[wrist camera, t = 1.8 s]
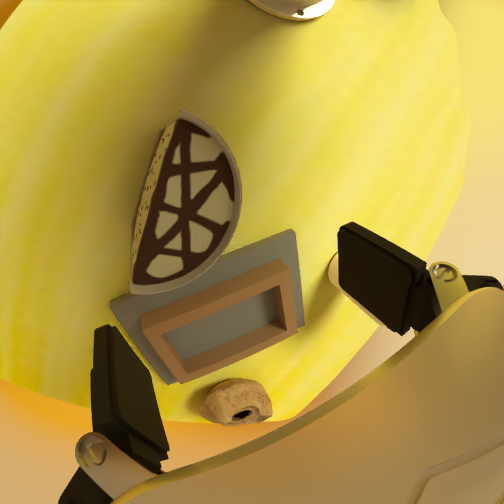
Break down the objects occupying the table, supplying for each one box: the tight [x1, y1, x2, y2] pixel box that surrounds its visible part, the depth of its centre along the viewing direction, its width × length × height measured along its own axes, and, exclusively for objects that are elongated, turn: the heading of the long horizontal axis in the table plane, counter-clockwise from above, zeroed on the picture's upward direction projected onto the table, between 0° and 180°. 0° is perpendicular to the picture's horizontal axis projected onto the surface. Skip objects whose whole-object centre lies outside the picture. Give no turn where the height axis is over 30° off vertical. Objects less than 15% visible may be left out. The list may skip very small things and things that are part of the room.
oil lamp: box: [199, 379, 273, 426], centre depth 39 cm, size 11×15×8 cm
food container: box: [129, 107, 242, 294], centre depth 20 cm, size 12×6×10 cm, turn 157°
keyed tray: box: [110, 229, 305, 385], centre depth 32 cm, size 16×22×4 cm
